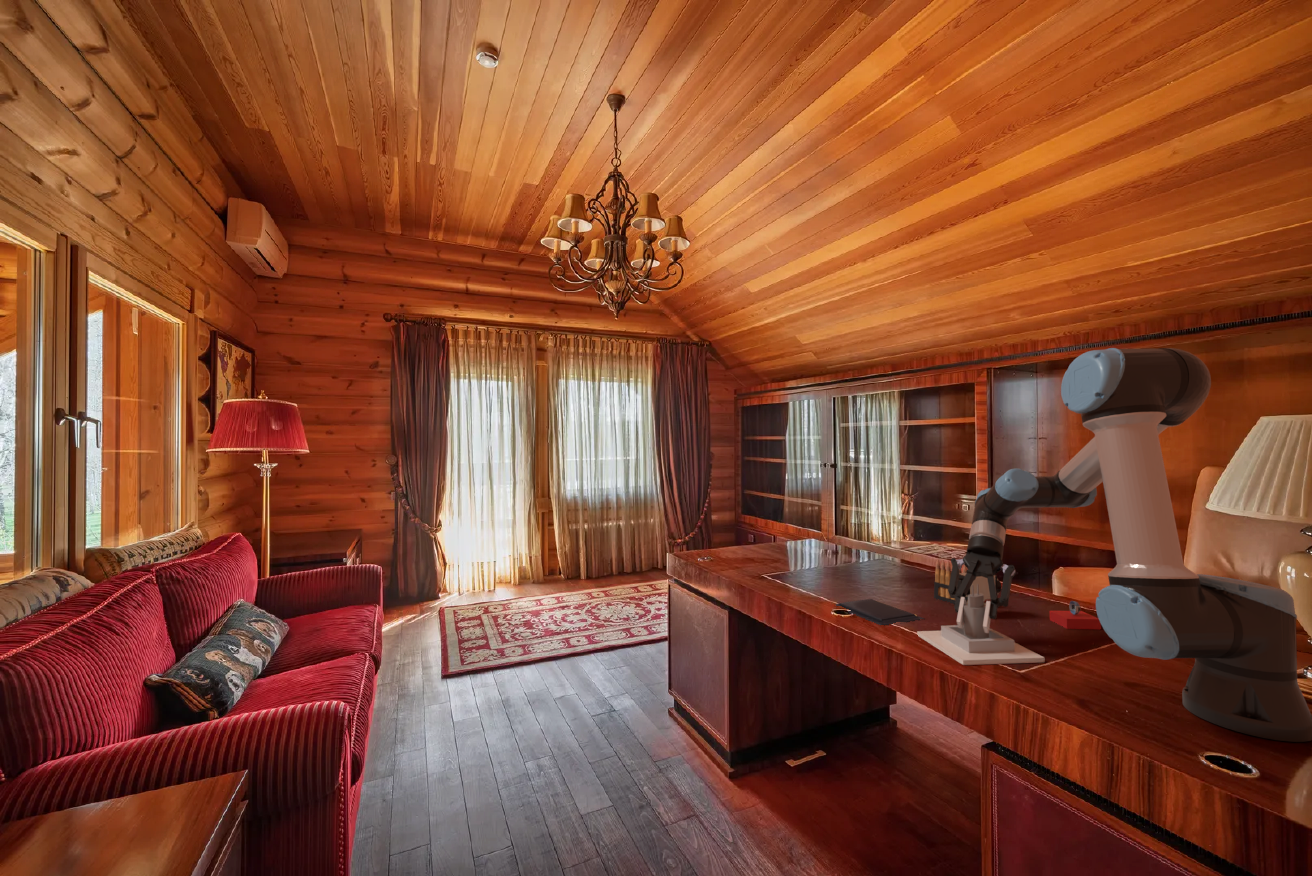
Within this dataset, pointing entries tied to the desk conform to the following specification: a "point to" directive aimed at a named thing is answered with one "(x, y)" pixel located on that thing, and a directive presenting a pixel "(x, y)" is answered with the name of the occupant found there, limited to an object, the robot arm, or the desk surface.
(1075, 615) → the red rectangular block
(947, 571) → the ammunition clip
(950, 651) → the holder plate
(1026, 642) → the desk surface
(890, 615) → the wallet
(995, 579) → the pneumatic valve
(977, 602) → the power adapter
